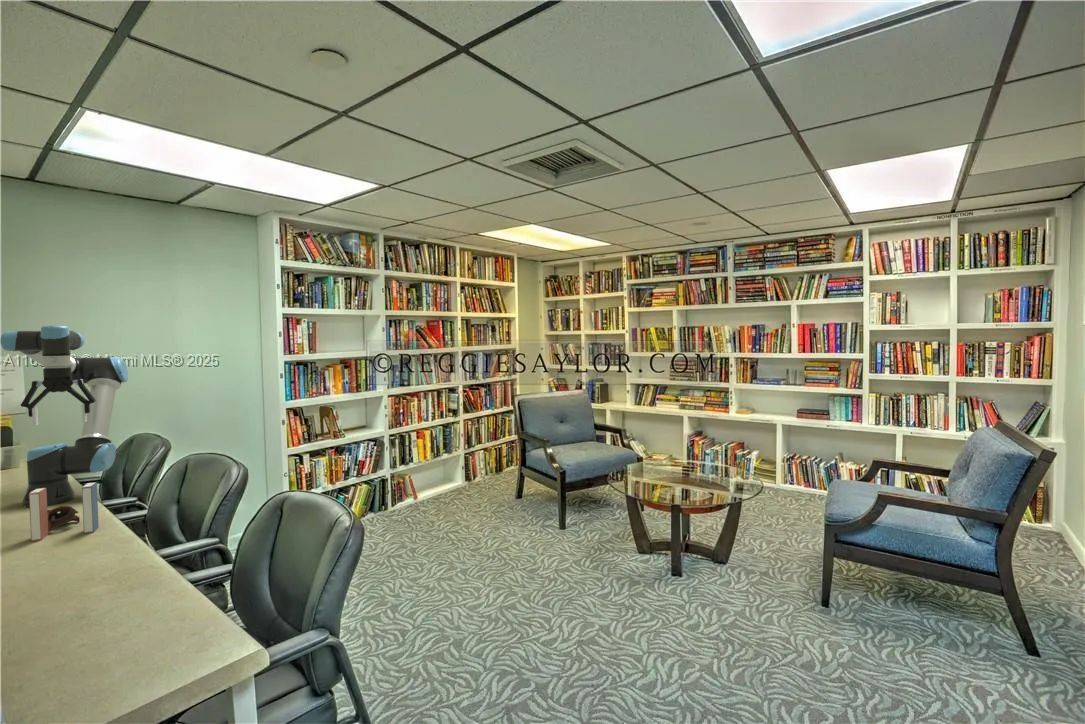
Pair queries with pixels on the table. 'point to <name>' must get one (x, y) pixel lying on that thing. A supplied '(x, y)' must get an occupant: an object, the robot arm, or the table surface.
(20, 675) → the table surface
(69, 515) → the pottery mug
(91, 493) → the navy book
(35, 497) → the brick red book
